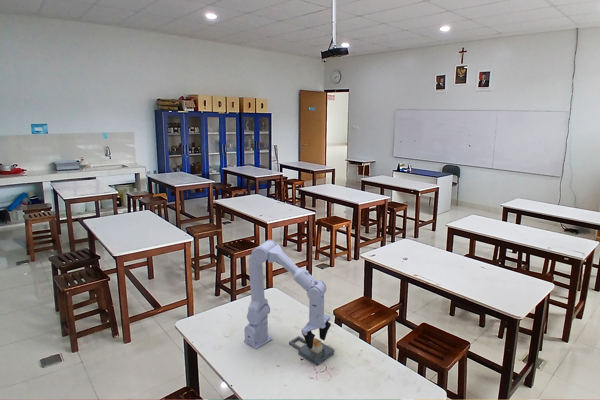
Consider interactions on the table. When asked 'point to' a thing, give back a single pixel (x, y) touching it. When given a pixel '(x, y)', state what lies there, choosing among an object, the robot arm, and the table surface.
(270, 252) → the robot arm
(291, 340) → the grey mounting plate
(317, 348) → the plug
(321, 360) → the port block
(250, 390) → the table surface
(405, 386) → the table surface
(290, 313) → the table surface
